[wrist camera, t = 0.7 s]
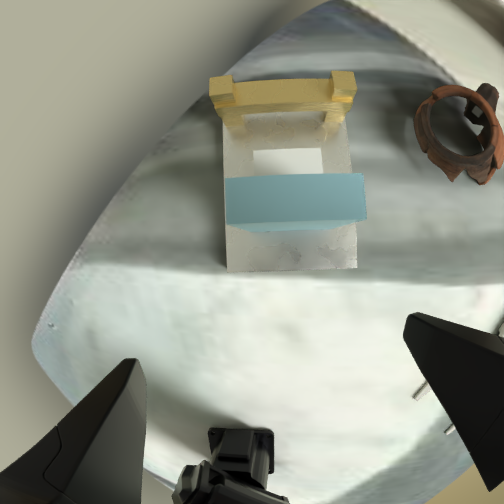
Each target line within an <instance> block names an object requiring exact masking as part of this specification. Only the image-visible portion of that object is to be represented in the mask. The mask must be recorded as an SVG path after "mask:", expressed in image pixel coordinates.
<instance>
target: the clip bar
mask: <svg viewBox="0 0 504 504" xmlns="http://www.w3.org/2000/svg"><path fill="white" fill-rule="evenodd" d="M253 158H254V176H250V177H236V178H225V202H226V224H227V225H230V226H233V227H236V228H240V229H243V230H246V231H249V232H267V231H292V230H320V229H333V228H337V227H341V226H344V225H348V224H351V223H355V222H359V221H362V220H366V219H367V214H366V200H365V188H364V178H363V173H324V174H323V166H322V155H321V148H295V149H272V150H255V151H253Z"/></svg>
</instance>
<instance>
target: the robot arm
mask: <svg viewBox="0 0 504 504" xmlns="http://www.w3.org/2000/svg"><path fill="white" fill-rule="evenodd" d="M403 339H404V341H405V343H406V345H407V347H408V348H409V350H410V352H411V354H412V356H413V358H414V360H415V362H416V364H417V366H418V367H419V369H420V371H421V373H422V374H423V376H424V377H425V379H426V381H427V382H428V384H429V385H430V387H431V388H432V390H433V392H434V393H435V395H436V396H437V398H438V400H439V401H440V403H441V404H442V406H443V408H444V409H445V411H446V413H447V414H448V416H449V418H450V420H451V421H452V423H453V425H454V426H455V428H456V430H457V432H458V433H459V435H460V437H461V439H462V440H463V442H464V444H465V446H466V448H467V450H468V451H469V452H470V453H469V454H470V456H471V457H472V459H473V461H474V463H475V465H476V467H477V469H478V471H479V473H480V475H481V477H482V479H483V481H484V483H485V485H486V487H487V489H488V491H489V492H490V491H492V490H493V489H494V488H496V487H497V486H498V485H499V484H500V483H501V482H503V481H504V337H501V336H497V335H494V334H490V333H487V332H483V331H480V330H477V329H473V328H470V327H466V326H463V325H460V324H456V323H453V322H450V321H446V320H443V319H440V318H436V317H433V316H430V315H426V314H423V313H420V312H416V313H413V314H410V315H408V317H407V320H406V324H405V328H404V332H403ZM212 432H214V433H212ZM145 435H146V379H145V376H144V373H143V370H142V368H141V365H140V362H139V360H138V359H136V358H126V359H124V360H123V361H121V362H120V363H119V364H118V365H117V366H116V367H115V368H114V369H113V370H112V371H111V372H110V373H109V374H108V375H107V376H106V377H105V378H104V379H103V380H102V381H101V382H100V383H99V384H98V385H97V386H96V387H95V388H94V389H93V390H91V391H90V392H89V393H88V394H87V395H86V396H85V397H84V398H83V399H82V400H81V401H80V402H79V403H78V404H77V405H76V406H75V407H74V408H73V409H72V410H71V411H70V412H69V413H68V414H67V415H66V416H65V417H64V418H63V419H62V420H61V421H60V422H59V423H58V424H57V426H55V427H54V428H53V429H52V430H51V431H50V432H49V433H47V434H46V435H45V436H44V437H43V438H42V439H41V440H40V441H39V442H38V443H37V444H36V445H34V446H33V447H32V448H31V449H30V450H29V451H27V452H26V453H25V454H23V455H22V456H21V457H20V458H18V459H17V460H16V461H15V462H13V463H12V464H11V465H9V466H8V467H7V468H6V469H4V470H3V471H2V472H0V504H141V487H142V471H143V457H144V446H145ZM267 435H271V436H267ZM208 437H209V443H210V449H211V455H212V456H211V459H210V461H209V462H208V461H206V460H203V461H202V462H201V463H200V464H199V465H197V466H196V465H186V466H185V467H184V468H183V470H182V472H181V474H180V476H179V479H178V483H177V484H176V486H175V491H174V493H173V494H172V499H173V503H174V504H290V503H289V501H288V498H287V497H284V496H279V495H276V494H274V493H271V492H268V491H266V488H267V479H268V474H272V473H274V433H273V432H272V431H267V430H237V429H222V428H210V429H209V431H208Z"/></svg>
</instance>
